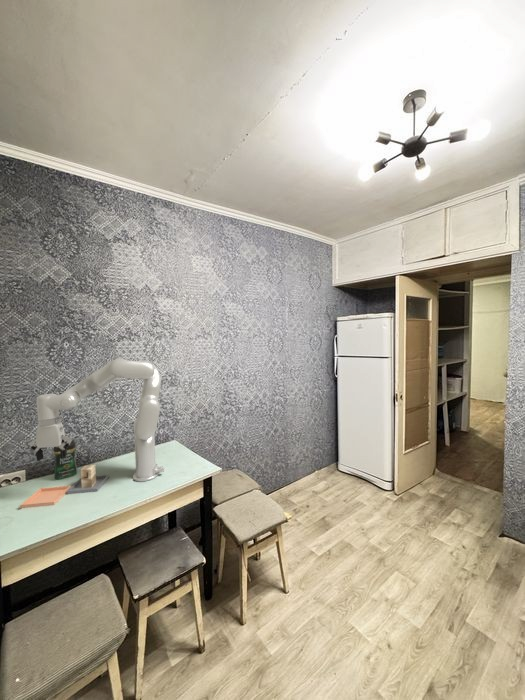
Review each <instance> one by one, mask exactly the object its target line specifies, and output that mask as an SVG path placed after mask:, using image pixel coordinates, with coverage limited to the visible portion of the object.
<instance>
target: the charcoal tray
mask: <svg viewBox="0 0 525 700" xmlns="http://www.w3.org/2000/svg"><path fill="white" fill-rule="evenodd" d="M109 478H110V474H100V475H96V483H95V484H94V486H93V487H90V488H82V483H81V477H80V478H79V479H77V480H76V482H74V483H73V485H71V488H70V489H68V490H67V493H66V495H74V494H85V493H96V492H99V491H100V489H101V488H102V487H103V485H104V484H105V483H106V482H107V480H108V479H109Z"/></svg>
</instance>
